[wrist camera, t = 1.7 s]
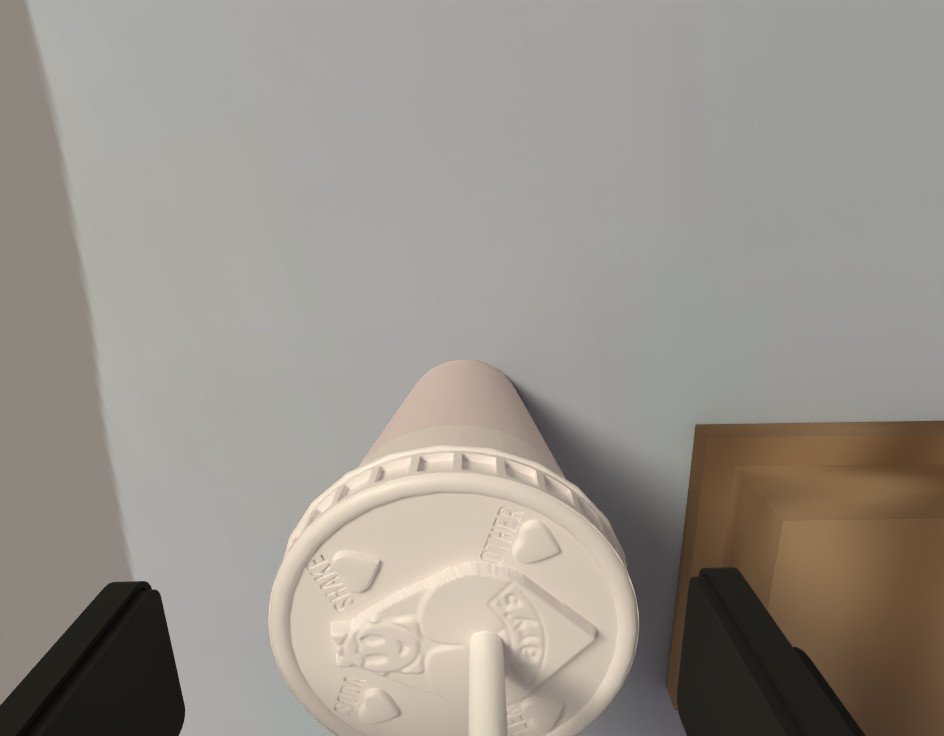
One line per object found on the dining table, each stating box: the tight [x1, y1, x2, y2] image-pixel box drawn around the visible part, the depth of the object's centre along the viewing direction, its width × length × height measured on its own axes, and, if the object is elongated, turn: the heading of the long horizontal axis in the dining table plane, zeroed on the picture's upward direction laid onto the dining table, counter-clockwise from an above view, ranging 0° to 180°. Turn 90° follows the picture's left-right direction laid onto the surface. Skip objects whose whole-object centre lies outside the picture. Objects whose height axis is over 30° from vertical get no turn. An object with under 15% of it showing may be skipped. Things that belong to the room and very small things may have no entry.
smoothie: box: [268, 360, 639, 736], centre depth 12 cm, size 6×6×14 cm
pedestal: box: [667, 421, 944, 736], centre depth 19 cm, size 11×11×4 cm
